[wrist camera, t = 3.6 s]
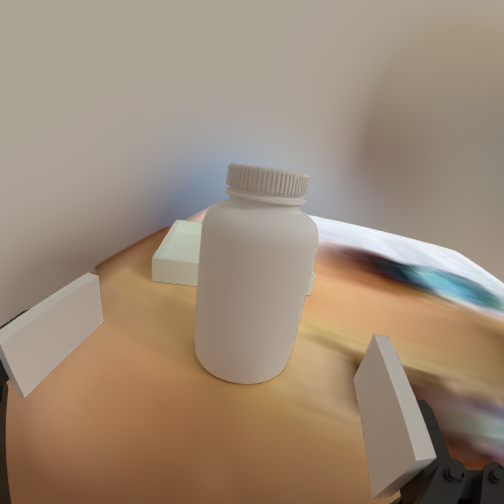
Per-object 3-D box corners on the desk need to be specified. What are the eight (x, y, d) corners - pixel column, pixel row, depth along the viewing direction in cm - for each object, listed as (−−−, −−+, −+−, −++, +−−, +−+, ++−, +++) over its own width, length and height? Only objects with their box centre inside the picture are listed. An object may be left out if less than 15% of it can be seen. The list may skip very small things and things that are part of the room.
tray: (279, 246, 54) (282, 231, 53) (310, 295, 35) (316, 274, 34) (175, 235, 51) (176, 219, 50) (151, 281, 32) (151, 258, 31)
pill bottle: (186, 329, 24) (201, 158, 20) (267, 325, 27) (297, 171, 22) (202, 393, 17) (225, 162, 13) (303, 379, 20) (357, 185, 15)
